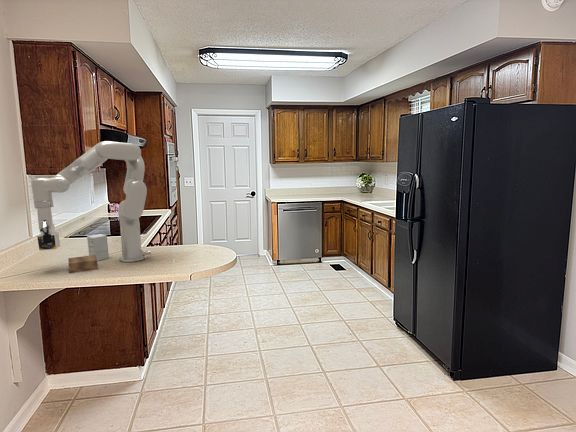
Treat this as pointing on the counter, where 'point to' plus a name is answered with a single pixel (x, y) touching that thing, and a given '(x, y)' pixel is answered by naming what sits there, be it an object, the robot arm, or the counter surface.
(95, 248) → the supplement box
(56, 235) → the medicine bottle
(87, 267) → the walnut block
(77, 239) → the counter surface
